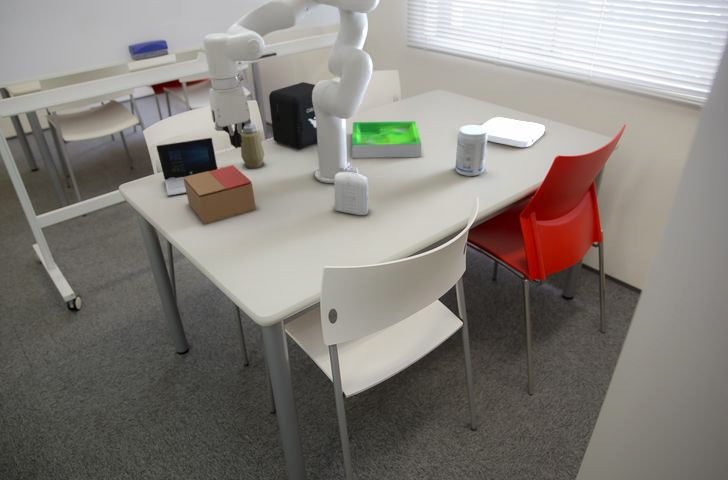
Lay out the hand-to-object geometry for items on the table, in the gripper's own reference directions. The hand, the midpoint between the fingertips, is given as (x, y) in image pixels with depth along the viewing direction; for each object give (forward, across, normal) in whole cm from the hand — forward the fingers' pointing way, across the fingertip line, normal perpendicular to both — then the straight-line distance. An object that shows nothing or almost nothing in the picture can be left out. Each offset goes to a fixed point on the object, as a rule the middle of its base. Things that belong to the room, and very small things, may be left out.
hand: (237, 146), depth 150 cm
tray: (+20, -63, -14) cm, 67 cm away
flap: (+9, +4, 0) cm, 10 cm away
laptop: (+18, +10, -21) cm, 29 cm away
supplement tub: (+20, -72, +23) cm, 78 cm away
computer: (+21, -110, +6) cm, 112 cm away
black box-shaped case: (+19, -40, -36) cm, 57 cm away
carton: (+18, +8, 0) cm, 19 cm away
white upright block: (+19, -23, +25) cm, 39 cm away
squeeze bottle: (+18, -13, -25) cm, 34 cm away
